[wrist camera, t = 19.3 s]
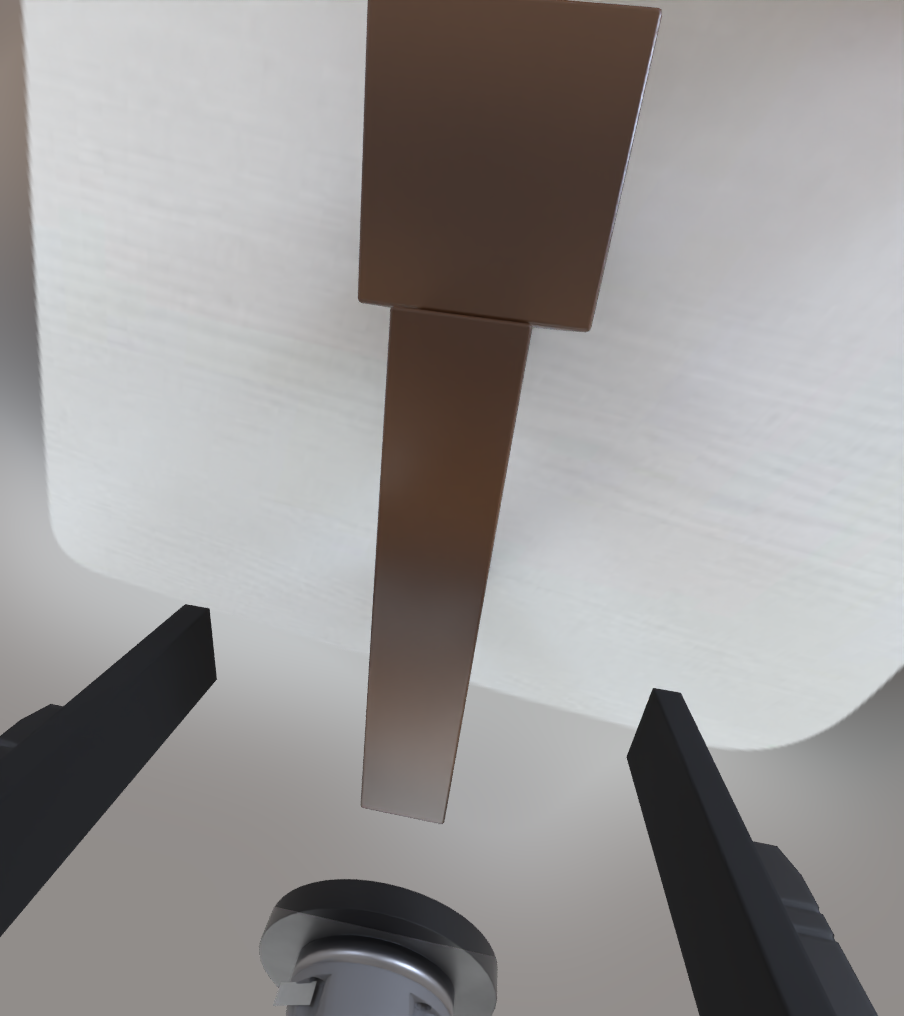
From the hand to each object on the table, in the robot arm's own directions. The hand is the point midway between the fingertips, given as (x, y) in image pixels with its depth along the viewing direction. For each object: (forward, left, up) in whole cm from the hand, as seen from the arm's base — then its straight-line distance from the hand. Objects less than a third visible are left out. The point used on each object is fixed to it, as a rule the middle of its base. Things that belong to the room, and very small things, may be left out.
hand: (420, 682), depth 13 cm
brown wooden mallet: (+6, 0, -10) cm, 12 cm away
